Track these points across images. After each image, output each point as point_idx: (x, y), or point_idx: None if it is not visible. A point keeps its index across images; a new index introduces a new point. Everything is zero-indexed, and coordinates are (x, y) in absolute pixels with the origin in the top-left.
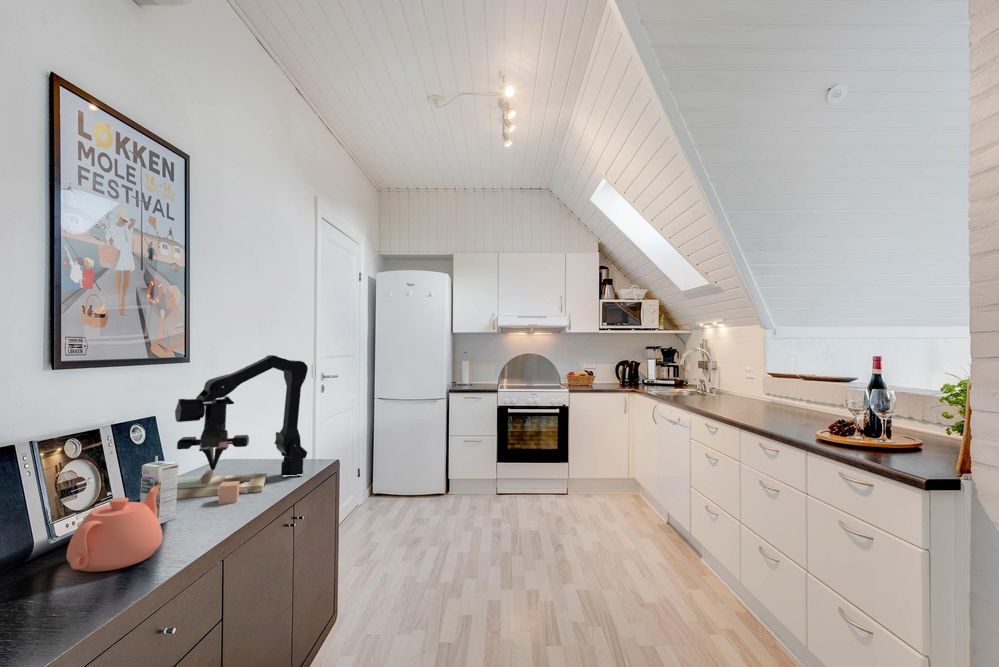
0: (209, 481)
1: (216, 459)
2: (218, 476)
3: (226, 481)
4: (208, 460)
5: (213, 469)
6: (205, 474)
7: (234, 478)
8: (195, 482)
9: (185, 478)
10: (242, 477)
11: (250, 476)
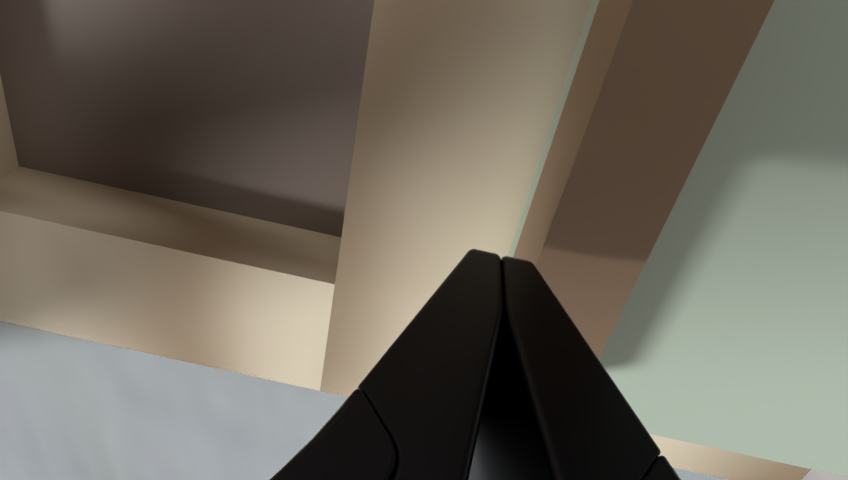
0: (549, 138)
1: (396, 403)
2: None
3: (317, 250)
4: (643, 444)
5: (486, 255)
6: (645, 192)
7: (208, 252)
8: (800, 105)
9: (838, 402)
10: (101, 233)
11: (2, 231)
